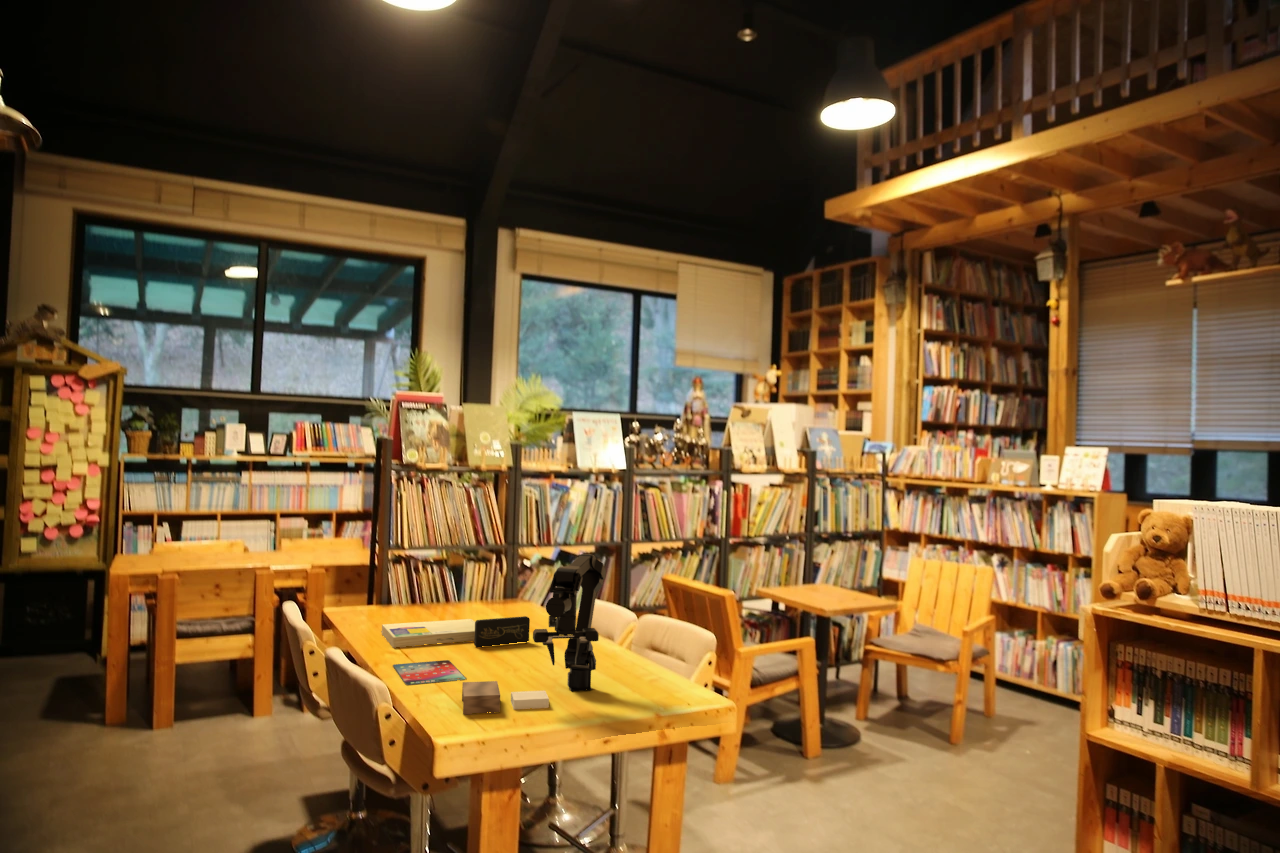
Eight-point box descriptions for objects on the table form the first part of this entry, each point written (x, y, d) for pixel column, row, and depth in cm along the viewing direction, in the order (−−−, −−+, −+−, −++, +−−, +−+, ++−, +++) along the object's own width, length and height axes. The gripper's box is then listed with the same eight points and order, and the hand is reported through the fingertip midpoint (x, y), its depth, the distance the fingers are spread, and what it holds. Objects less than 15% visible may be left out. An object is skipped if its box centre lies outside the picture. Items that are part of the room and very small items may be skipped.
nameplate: (527, 642, 316) (527, 616, 316) (528, 643, 314) (529, 617, 314) (474, 647, 305) (475, 620, 306) (475, 648, 304) (476, 621, 304)
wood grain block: (496, 698, 243) (497, 681, 243) (499, 713, 229) (500, 694, 230) (462, 699, 241) (462, 682, 241) (463, 714, 227) (463, 696, 227)
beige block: (544, 700, 243) (545, 690, 243) (548, 709, 236) (548, 698, 236) (510, 702, 241) (511, 692, 241) (513, 710, 233) (513, 700, 233)
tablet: (406, 687, 253) (406, 684, 253) (392, 666, 276) (392, 664, 276) (467, 681, 262) (467, 678, 262) (449, 662, 284) (449, 659, 284)
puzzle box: (488, 642, 316) (471, 629, 337) (488, 630, 316) (472, 617, 337) (391, 650, 300) (380, 635, 321) (391, 637, 300) (381, 623, 321)
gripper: (593, 605, 251) (591, 657, 251) (531, 606, 247) (530, 658, 247) (599, 612, 241) (597, 666, 240) (535, 613, 236) (533, 668, 236)
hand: (564, 664), depth 241 cm, fingers open, 6 cm apart
